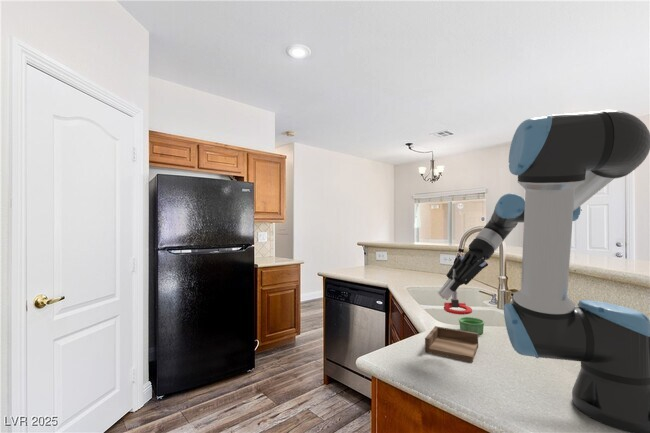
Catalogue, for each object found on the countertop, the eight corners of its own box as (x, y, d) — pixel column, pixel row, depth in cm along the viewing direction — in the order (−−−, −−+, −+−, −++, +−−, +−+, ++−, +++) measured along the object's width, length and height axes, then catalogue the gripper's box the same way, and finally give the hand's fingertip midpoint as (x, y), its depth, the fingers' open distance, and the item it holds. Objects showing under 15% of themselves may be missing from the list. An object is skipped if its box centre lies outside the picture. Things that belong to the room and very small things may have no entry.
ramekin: (459, 334, 117) (458, 322, 117) (458, 326, 126) (458, 315, 126) (485, 337, 114) (485, 325, 114) (483, 329, 122) (483, 318, 122)
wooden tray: (472, 362, 93) (472, 346, 93) (425, 352, 101) (425, 338, 101) (478, 346, 105) (477, 333, 105) (435, 338, 113) (435, 326, 113)
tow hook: (475, 316, 95) (467, 307, 104) (474, 274, 94) (467, 268, 103) (446, 315, 96) (441, 306, 105) (445, 274, 96) (440, 268, 105)
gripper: (507, 254, 100) (463, 309, 96) (477, 250, 114) (437, 299, 110) (493, 237, 99) (447, 293, 95) (464, 236, 113) (423, 284, 109)
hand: (442, 296), depth 102 cm, fingers closed on tow hook
